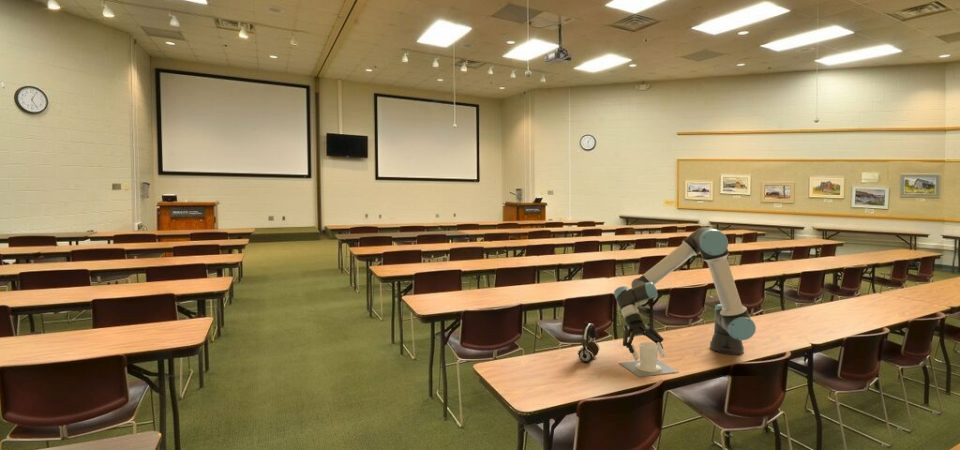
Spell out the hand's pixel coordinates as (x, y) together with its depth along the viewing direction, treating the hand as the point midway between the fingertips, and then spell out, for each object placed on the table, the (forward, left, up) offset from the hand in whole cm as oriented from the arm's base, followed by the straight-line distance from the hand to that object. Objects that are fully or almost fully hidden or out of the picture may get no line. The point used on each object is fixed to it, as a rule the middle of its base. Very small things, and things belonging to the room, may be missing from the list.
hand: (650, 358), depth 206 cm
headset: (+21, -18, -5) cm, 28 cm away
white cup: (0, -1, -5) cm, 5 cm away
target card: (0, -1, -5) cm, 5 cm away
